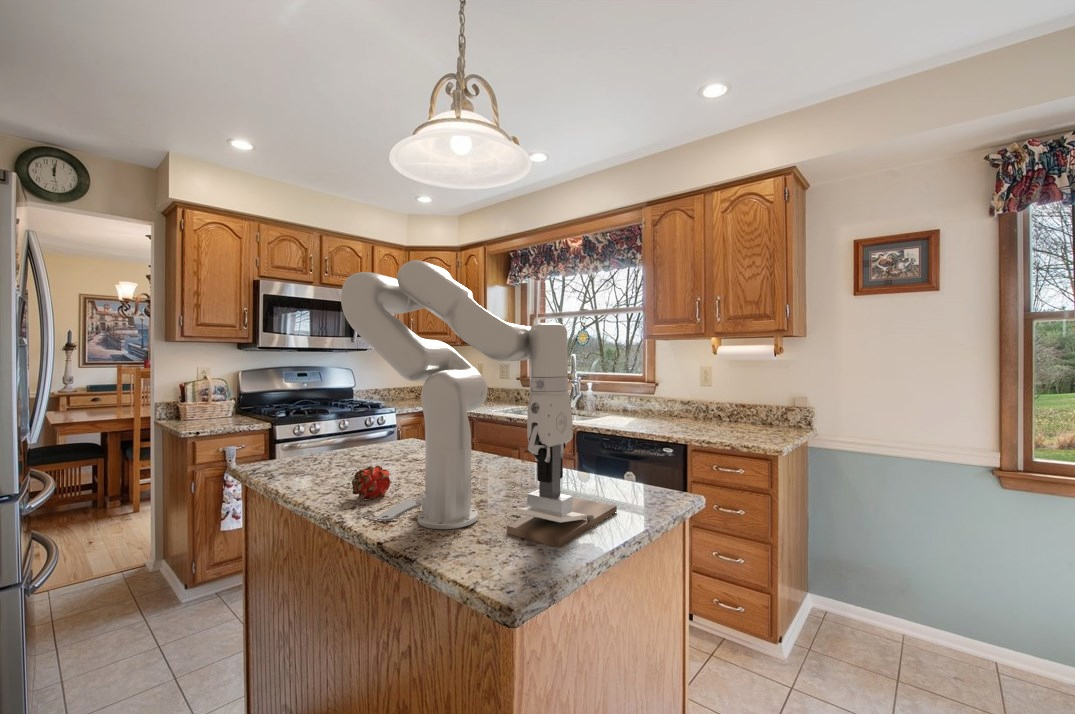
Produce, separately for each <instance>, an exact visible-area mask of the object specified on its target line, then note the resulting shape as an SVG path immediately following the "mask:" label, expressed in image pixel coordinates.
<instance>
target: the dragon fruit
mask: <svg viewBox="0 0 1075 714" xmlns="http://www.w3.org/2000/svg"><path fill="white" fill-rule="evenodd" d="M390 475H391V474H390V472H389V470H388V469H387V468H383V467H382V466H381V465H375V466H372V465H371V466H368V467H367V468H364V469H360V470H359V471H356V472H355V475H354V476H353V479H352V480H351V485H352V490H353V491H352V494H353V495H358V497H359V498H361V499H362V500H365V499H368V500H367V501H369V500H370V499H371V498H375V499H382V498H383V497H384V496H383V495H385V496H386V493H387V491H388V490H389V489H390V486H391V484H393V481H391V479H390Z"/></svg>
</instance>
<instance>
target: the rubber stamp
mask: <svg viewBox="0 0 1075 714" xmlns="http://www.w3.org/2000/svg"><path fill="white" fill-rule="evenodd" d="M541 444H542V443H541ZM542 445H545V444H542ZM541 449H542V450H543V451H544V452H545V448H541ZM550 462H552V482H551V483H547V482H541V481H538V482H539V486H538V487H539V488H538V489H536V490H534V491H531V492H528V493H527V502H526V505H527V506H526V508H527V509H529V510H534V511H538V512H542V513H546V514H550V515H555V516H559V517H563V516H565V515H567V514H569V513H571V512H572V505H573V498H574V497H573V495H569V494H568V495H567V494H563V493H561V483H562V482H561V479H562V478H561V444H559V445H556V446H552V447H551V450H550Z"/></svg>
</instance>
